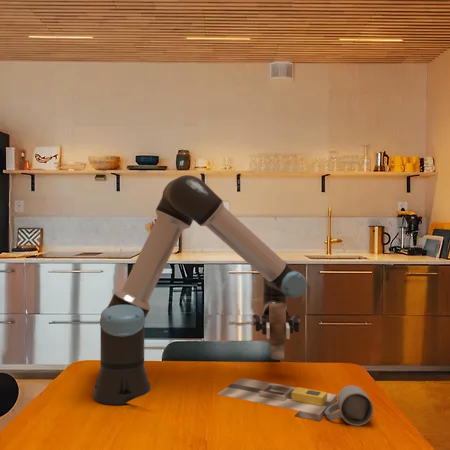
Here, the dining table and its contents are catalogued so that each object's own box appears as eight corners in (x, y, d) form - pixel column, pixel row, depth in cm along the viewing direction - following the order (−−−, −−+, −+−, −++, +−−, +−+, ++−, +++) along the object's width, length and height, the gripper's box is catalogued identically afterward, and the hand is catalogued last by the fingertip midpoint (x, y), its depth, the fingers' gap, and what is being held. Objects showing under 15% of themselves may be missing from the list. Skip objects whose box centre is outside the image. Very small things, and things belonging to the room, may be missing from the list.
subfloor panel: (216, 399, 128) (216, 389, 128) (241, 382, 141) (242, 373, 141) (319, 421, 114) (319, 409, 114) (336, 400, 127) (336, 390, 127)
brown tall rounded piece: (266, 358, 127) (266, 305, 126) (273, 354, 130) (273, 302, 130) (282, 360, 124) (282, 306, 124) (288, 356, 128) (288, 304, 128)
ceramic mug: (366, 412, 120) (366, 381, 119) (373, 426, 111) (373, 393, 111) (323, 411, 120) (322, 381, 120) (327, 425, 112) (326, 392, 112)
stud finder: (291, 400, 123) (291, 391, 123) (297, 394, 127) (297, 386, 127) (322, 406, 119) (322, 397, 119) (327, 400, 123) (327, 391, 123)
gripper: (304, 327, 145) (312, 348, 121) (246, 326, 146) (243, 347, 123) (304, 303, 144) (313, 319, 121) (246, 302, 146) (243, 318, 123)
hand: (278, 333), depth 122 cm, fingers closed on brown tall rounded piece, 4 cm apart
